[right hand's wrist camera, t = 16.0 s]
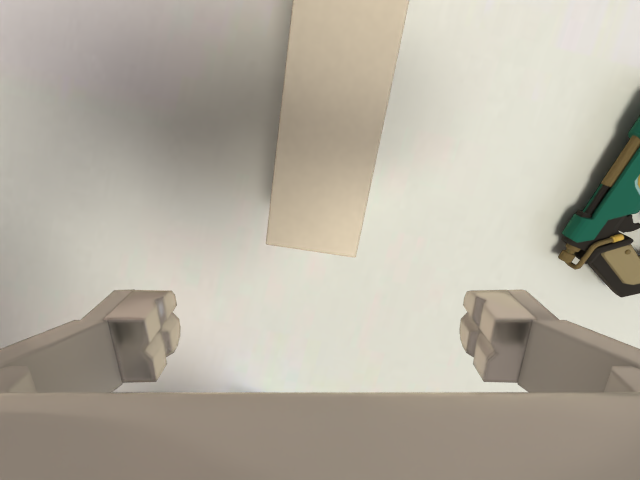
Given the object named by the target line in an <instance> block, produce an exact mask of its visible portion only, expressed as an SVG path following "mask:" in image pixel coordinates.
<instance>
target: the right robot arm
mask: <svg viewBox="0 0 640 480" xmlns="http://www.w3.org/2000/svg"><path fill="white" fill-rule="evenodd" d="M176 306H177V303H176V298H175V294H174V293H173V292H172V291H164V290H114V291H113V292H112V293H111V294H110V295H108V296H107V297H106V298H105V299H104V300H103V301H102V302H100V303H99V304H98V305H97V306H96V307H95V308H94V309H92V310H91V311H90V312H89V313H88V314H87V315H86V316H84V317H83V318H82V319H81V320H73V321H71V322H68V323H66V324H63V325H61V326H58V327H56V328H53V329H50V330H48V331H45V332H43V333H40V334H38V335H35V336H32V337H30V338H27V339H25V340H22V341H20V342H17V343H14V344H12V345H9V346H7V347H4V348H2V349H0V480H640V349H638V348H636V347H633V346H631V345H628V344H625V343H623V342H620V341H618V340H615V339H613V338H610V337H607V336H605V335H602V334H600V333H597V332H595V331H592V330H590V329H587V328H584V327H582V326H579V325H577V324H574V323H572V322H569V321H567V320H559V319H558V318H557V317H556V316H554V315H553V314H552V313H551V312H550V311H549V310H548V309H546V308H545V307H544V306H543V305H542V304H541V303H540V302H538V301H537V300H536V299H535V298H534V297H533V296H532V295H530V294H529V293H528V292H527V291H525V290H478V291H467V292H466V295H465V297H464V302H463V306H464V307H465V309H466V311H467V313H466V314H465V315H464V316H463V317H462V318H461V322H460V340H461V343H462V346H463V348H464V350H465V351H466V353H468V354H469V355H471V356H472V357H474V361H473V365H474V366H475V368H476V370H477V371H478V373H479V375H480V376H481V378H482V380H483V381H484V382H513V383H518V385H519V386H521V387H522V388H524V389H525V390H526V391H528V392H339V393H111V392H112V391H114V390H115V389H117V388H118V387H119V386H121V385H122V383H127V382H156V381H157V380H158V378H159V376H160V375H161V373H162V371H163V370H164V368H165V366H166V365H167V361H166V357H168V356H169V355H171V354H172V353H174V351H175V349H176V348H177V346H178V342H179V338H180V321H179V318H178V317H177V316H176V315H175V314H174V313H173V311H174V309H175V307H176Z"/></svg>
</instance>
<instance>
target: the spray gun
mask: <svg viewBox="0 0 640 480" xmlns="http://www.w3.org/2000/svg"><path fill="white" fill-rule="evenodd" d="M628 136H629V138H630V140H629V141H628V143H627V144H626V146H625V147H624V149H623V150H622V152H621V153H620V155H619V156H618V158H617V159H616V161H615V162H614V164H613V165H612V167H611V168H610V170H609V171H608V173H607V174H606V176H605V177H604V179H603V180H602V182H601V184H600V186H599V187H598V189H597V190H596V192H595V193H594V195H593V196H592V198H591V199H590V201H589V202H588V204H587V205H586V207H585V208H584V210H583V211H580V210H578V211H577V213H576V214H574V215H573V217H572V218H571V220H570V221H569V223H568V224H567V226H566V227H565V229H564V230H563V232H562V234H563V235H564V236H563V237H562V240H563V241H564V242H566V243H567V244H566V248H567V249H566V250H562V252H561V253H560V255H559V256H558V258H559V259H561V260H563V261H564V262H565V263H566V264H567V265H568V266H570V267H572V268H573V269H579V268H581V267H582V265H583V264H584V263H586V264H587V263H588V264H589V265H590V266H591V267H592V269H593V270H594V271H595V272H596V273H597V274H598V276H599V277H600V278H601V279H602V280H603V281H604V282H605V283H606V285H607V286H608V287H609V288H610V289H611V290H612V291H613V292H614V293H615V294H617V295H618V296H620V297H625V296H630V295H634V294H639V293H640V257H638V255H637V254H636V252H635V250H634V249H633V247H632V245H631V243H632V242H633V239H631V238H630V237H628V236H626V235H624V234H622V233H620V232H619V231H621V232H623V233H624V232H631V231H634V230H637V229H639V228H640V224H639V223H633V219H632V215H630V214H636V213H638V212H639V211H640V116H639V118H638V119H637V121H636V122H635V124H634V125H633V127H632V128H631V130H630V131H629V133H628ZM618 230H619V231H618ZM575 256H576V257H577V258H578V259H580V261H579V262H578V264H577V265H575V264H573V263H572V260H573V259H574V258H575Z"/></svg>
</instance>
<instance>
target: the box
mask: <svg viewBox="0 0 640 480" xmlns="http://www.w3.org/2000/svg"><path fill="white" fill-rule="evenodd" d="M408 4H409V0H293V5H292V14H291V23H290V32H289V41H288V50H287V59H286V68H285V77H284V86H283V94H282V103H281V112H280V121H279V130H278V139H277V148H276V157H275V166H274V175H273V184H272V193H271V202H270V211H269V220H268V229H267V238H266V244H267V245H274V246H280V247H287V248H294V249H301V250H307V251H314V252H321V253H328V254H334V255H341V256H348V257H356V254H357V249H358V244H359V239H360V234H361V230H362V225H363V220H364V215H365V210H366V206H367V201H368V196H369V191H370V186H371V182H372V177H373V172H374V167H375V163H376V158H377V153H378V148H379V143H380V139H381V134H382V129H383V124H384V119H385V115H386V110H387V105H388V100H389V95H390V91H391V86H392V81H393V76H394V71H395V67H396V62H397V57H398V52H399V47H400V43H401V38H402V33H403V28H404V23H405V19H406V14H407V9H408Z"/></svg>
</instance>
